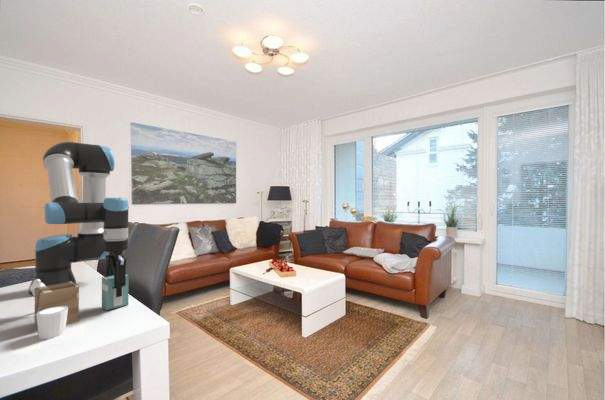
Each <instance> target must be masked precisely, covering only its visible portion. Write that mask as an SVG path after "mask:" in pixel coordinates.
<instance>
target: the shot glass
mask: <svg viewBox="0 0 605 400" xmlns="http://www.w3.org/2000/svg"><path fill="white" fill-rule="evenodd" d="M67 313H68V307H67V306H57V307H51V308H47V309H44V310H41V311H39V312H37V314H36V317H37V325H38V328H37V333H38V339H40V340H50V339H54V338H56V337H60V336H62V335H64V334H65V333H66V328H67V324H66V321H67Z"/></svg>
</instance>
